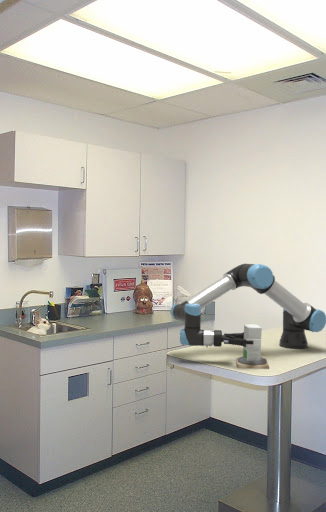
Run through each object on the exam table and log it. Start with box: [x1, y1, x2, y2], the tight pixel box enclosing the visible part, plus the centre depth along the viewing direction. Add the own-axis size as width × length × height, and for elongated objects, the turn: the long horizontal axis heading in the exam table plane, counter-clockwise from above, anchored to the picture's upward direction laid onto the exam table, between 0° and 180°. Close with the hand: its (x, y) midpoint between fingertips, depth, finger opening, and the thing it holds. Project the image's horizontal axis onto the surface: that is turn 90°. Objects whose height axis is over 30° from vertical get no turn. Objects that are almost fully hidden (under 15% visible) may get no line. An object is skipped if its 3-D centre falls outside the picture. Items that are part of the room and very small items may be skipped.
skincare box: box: [242, 323, 262, 361], centre depth 223 cm, size 8×7×16 cm
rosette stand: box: [235, 356, 270, 370], centre depth 223 cm, size 14×14×2 cm
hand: (260, 339), depth 223 cm, fingers open, 13 cm apart
